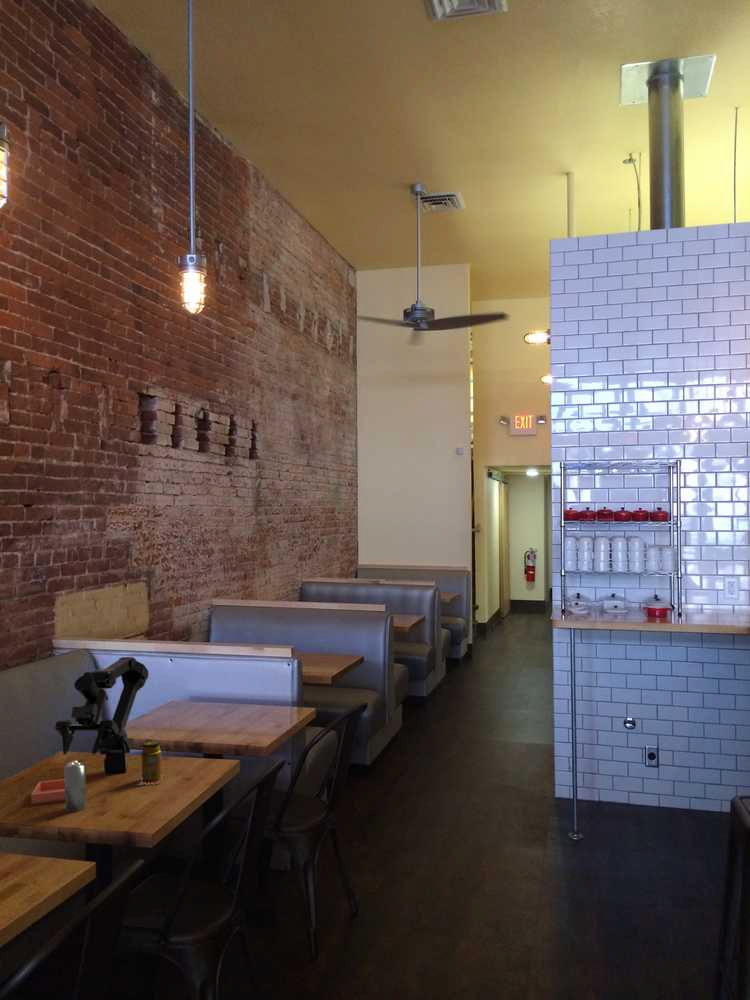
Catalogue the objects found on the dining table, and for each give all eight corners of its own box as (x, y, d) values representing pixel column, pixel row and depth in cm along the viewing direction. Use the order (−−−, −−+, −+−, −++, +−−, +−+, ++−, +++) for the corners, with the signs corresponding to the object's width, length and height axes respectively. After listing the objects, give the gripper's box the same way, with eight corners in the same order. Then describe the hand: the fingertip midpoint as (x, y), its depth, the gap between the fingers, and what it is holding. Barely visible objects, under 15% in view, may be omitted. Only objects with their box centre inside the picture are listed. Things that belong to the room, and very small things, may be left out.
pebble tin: (87, 803, 232) (85, 757, 232) (84, 810, 227) (82, 763, 227) (67, 806, 231) (65, 759, 231) (64, 813, 226) (62, 765, 226)
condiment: (165, 775, 255) (164, 739, 255) (159, 785, 246) (157, 746, 246) (143, 777, 254) (141, 740, 255) (135, 786, 246) (134, 748, 246)
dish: (78, 787, 247) (78, 777, 247) (72, 800, 236) (72, 790, 236) (39, 791, 245) (39, 781, 245) (31, 804, 234) (31, 794, 234)
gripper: (55, 694, 243) (38, 742, 232) (112, 693, 241) (98, 741, 230) (69, 711, 251) (53, 758, 241) (125, 711, 249) (111, 758, 238)
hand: (78, 754), depth 237 cm, fingers open, 9 cm apart
